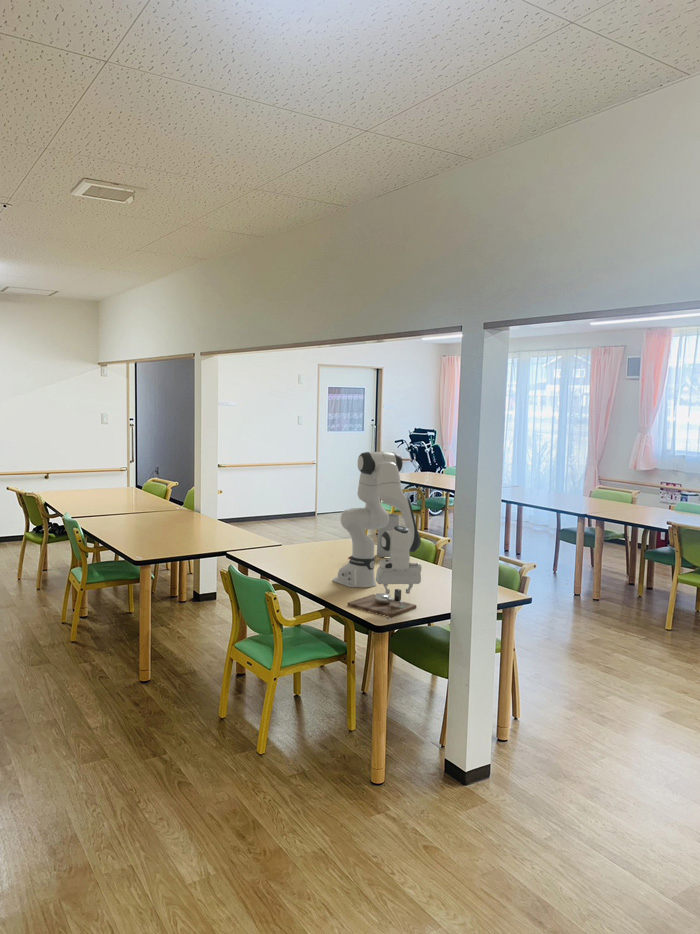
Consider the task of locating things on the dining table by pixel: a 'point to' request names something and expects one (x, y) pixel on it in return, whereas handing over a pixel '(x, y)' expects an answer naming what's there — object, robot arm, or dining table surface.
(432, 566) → the dining table surface
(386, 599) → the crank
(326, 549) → the dining table surface
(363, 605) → the board
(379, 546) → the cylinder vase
